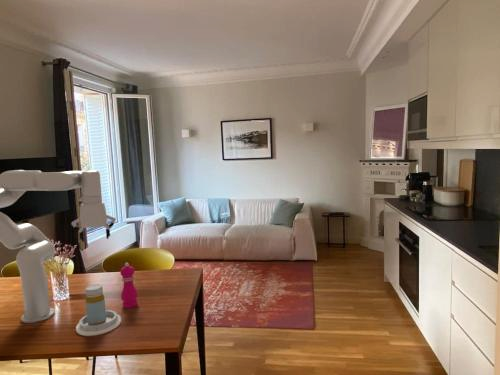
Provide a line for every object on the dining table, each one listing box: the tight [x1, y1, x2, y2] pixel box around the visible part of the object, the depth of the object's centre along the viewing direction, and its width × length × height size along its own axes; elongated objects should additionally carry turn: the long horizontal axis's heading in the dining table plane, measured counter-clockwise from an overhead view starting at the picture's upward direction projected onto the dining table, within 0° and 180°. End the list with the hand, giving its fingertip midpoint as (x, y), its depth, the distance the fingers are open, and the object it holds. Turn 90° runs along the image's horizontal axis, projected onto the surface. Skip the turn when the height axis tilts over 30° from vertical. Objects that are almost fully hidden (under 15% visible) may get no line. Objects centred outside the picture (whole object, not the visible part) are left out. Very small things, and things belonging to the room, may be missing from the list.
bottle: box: [85, 283, 107, 325], centre depth 143 cm, size 7×7×15 cm
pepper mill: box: [120, 262, 139, 309], centre depth 161 cm, size 7×7×20 cm
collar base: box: [75, 309, 122, 337], centre depth 144 cm, size 17×17×3 cm
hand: (95, 239), depth 151 cm, fingers open, 9 cm apart
